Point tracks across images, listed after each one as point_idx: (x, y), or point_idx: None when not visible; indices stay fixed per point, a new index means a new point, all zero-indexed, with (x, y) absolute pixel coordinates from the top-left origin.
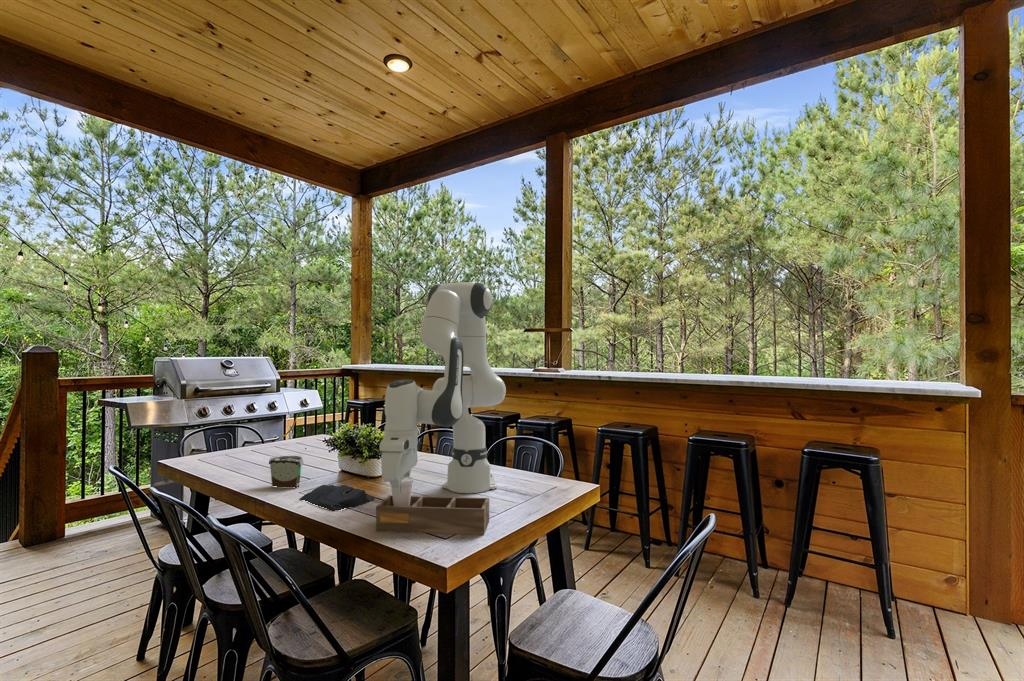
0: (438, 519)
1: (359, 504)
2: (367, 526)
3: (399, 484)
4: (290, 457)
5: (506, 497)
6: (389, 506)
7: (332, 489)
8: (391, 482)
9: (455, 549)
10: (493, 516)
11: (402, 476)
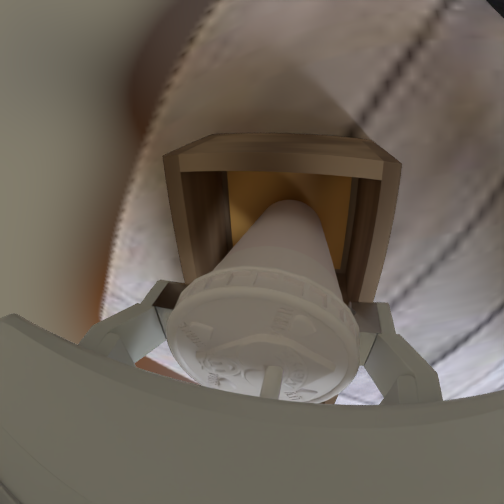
0: None
1: (499, 9)
2: (263, 77)
3: (139, 353)
4: None
5: (463, 397)
6: (178, 225)
7: None
8: (95, 328)
9: None
10: (353, 398)
11: (263, 390)
